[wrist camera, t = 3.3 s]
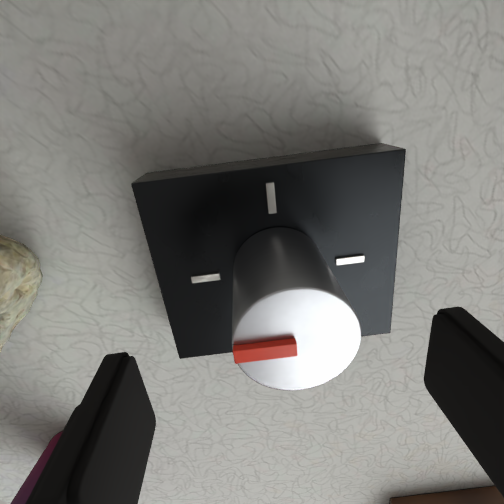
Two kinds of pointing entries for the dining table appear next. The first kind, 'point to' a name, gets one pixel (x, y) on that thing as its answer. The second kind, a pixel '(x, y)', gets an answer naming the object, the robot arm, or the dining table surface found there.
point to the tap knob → (290, 313)
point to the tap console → (271, 216)
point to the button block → (455, 497)
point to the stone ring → (16, 284)
